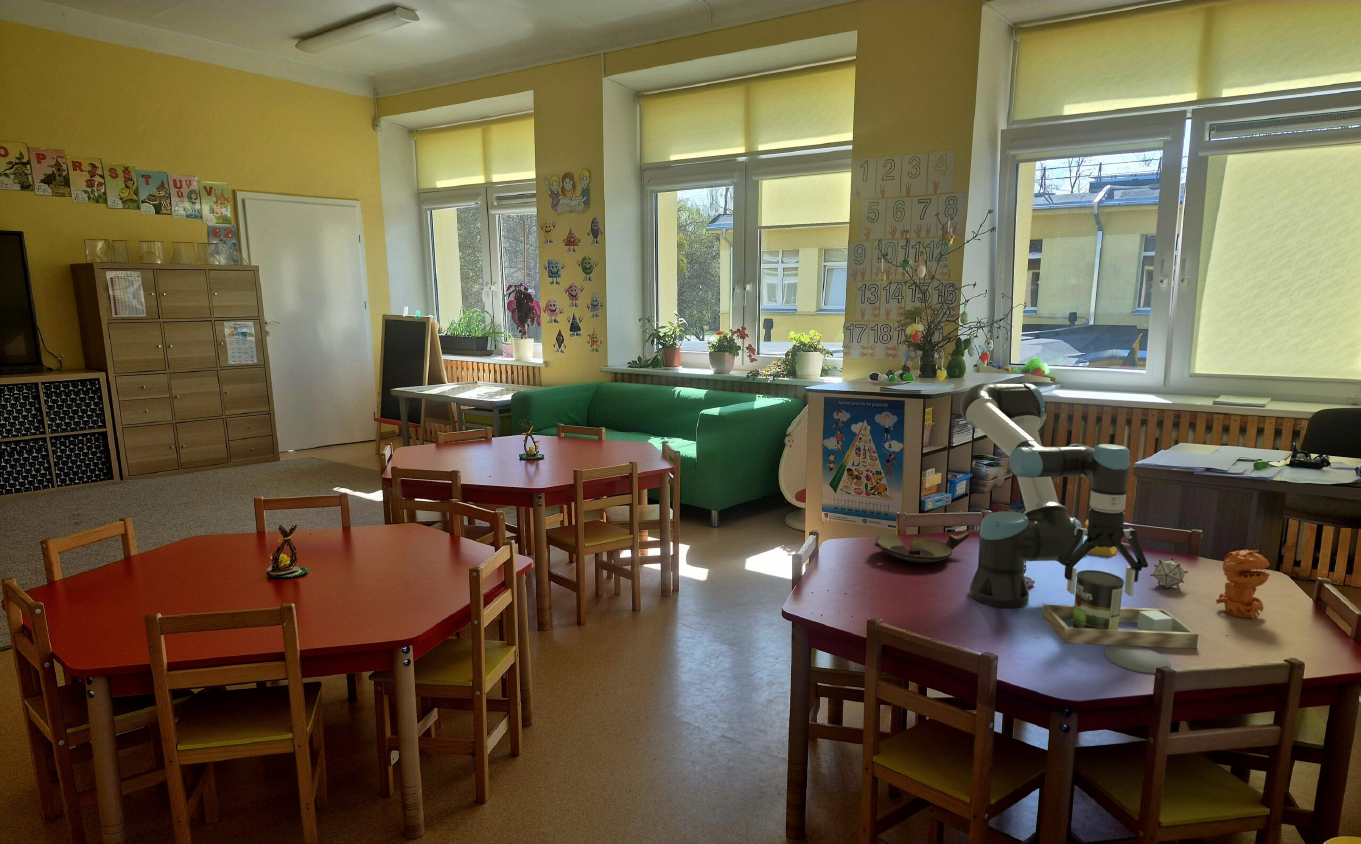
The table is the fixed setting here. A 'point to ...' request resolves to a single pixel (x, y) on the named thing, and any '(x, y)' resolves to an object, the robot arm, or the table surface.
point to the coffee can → (1097, 600)
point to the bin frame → (1176, 638)
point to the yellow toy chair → (1102, 548)
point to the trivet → (1136, 658)
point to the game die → (1169, 573)
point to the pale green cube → (1154, 621)
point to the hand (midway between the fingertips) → (1099, 593)
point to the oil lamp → (920, 547)
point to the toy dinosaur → (1243, 583)
